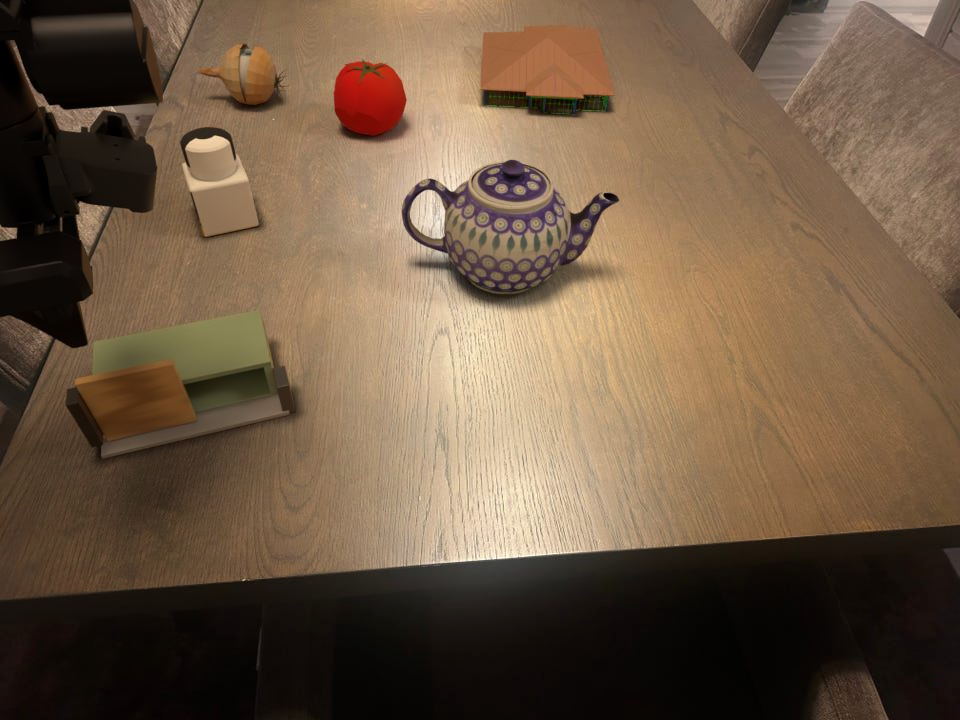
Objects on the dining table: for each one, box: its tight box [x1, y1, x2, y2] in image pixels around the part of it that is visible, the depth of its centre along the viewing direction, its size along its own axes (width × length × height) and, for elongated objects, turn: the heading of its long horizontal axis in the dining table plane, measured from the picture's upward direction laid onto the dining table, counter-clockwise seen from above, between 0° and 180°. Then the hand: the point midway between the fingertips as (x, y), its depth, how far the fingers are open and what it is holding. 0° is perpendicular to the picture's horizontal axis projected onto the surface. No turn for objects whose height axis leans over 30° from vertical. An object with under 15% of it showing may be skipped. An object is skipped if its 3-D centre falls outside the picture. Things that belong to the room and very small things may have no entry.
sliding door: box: [65, 359, 197, 448], centre depth 61 cm, size 9×2×8 cm, turn 110°
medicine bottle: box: [179, 126, 260, 238], centre depth 86 cm, size 7×7×12 cm
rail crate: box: [91, 309, 296, 459], centre depth 67 cm, size 18×11×5 cm, turn 110°
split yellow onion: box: [197, 41, 290, 106], centre depth 111 cm, size 9×9×15 cm
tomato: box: [333, 58, 408, 137], centre depth 106 cm, size 12×12×10 cm
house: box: [480, 24, 616, 116], centre depth 123 cm, size 23×33×8 cm
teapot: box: [401, 159, 620, 295], centre depth 79 cm, size 25×15×15 cm, turn 86°
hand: (79, 306), depth 52 cm, fingers open, 9 cm apart
